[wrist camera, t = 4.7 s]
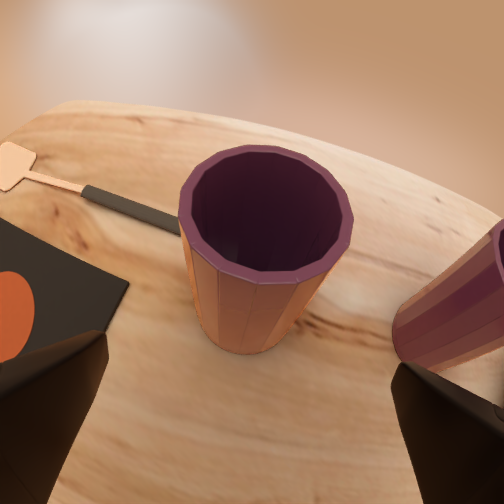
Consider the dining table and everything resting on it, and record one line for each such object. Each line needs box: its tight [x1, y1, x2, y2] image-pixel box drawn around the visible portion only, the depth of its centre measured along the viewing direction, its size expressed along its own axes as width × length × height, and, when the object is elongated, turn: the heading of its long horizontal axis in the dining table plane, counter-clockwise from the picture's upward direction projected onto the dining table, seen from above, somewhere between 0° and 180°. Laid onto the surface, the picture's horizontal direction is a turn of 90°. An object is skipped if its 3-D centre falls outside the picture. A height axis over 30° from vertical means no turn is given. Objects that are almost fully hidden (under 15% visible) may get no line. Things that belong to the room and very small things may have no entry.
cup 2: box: [392, 219, 504, 373], centre depth 17 cm, size 7×7×12 cm
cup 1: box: [178, 145, 354, 355], centre depth 17 cm, size 7×7×12 cm
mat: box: [0, 218, 129, 363], centre depth 19 cm, size 20×16×1 cm
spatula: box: [0, 141, 181, 235], centre depth 25 cm, size 6×29×2 cm, turn 71°
